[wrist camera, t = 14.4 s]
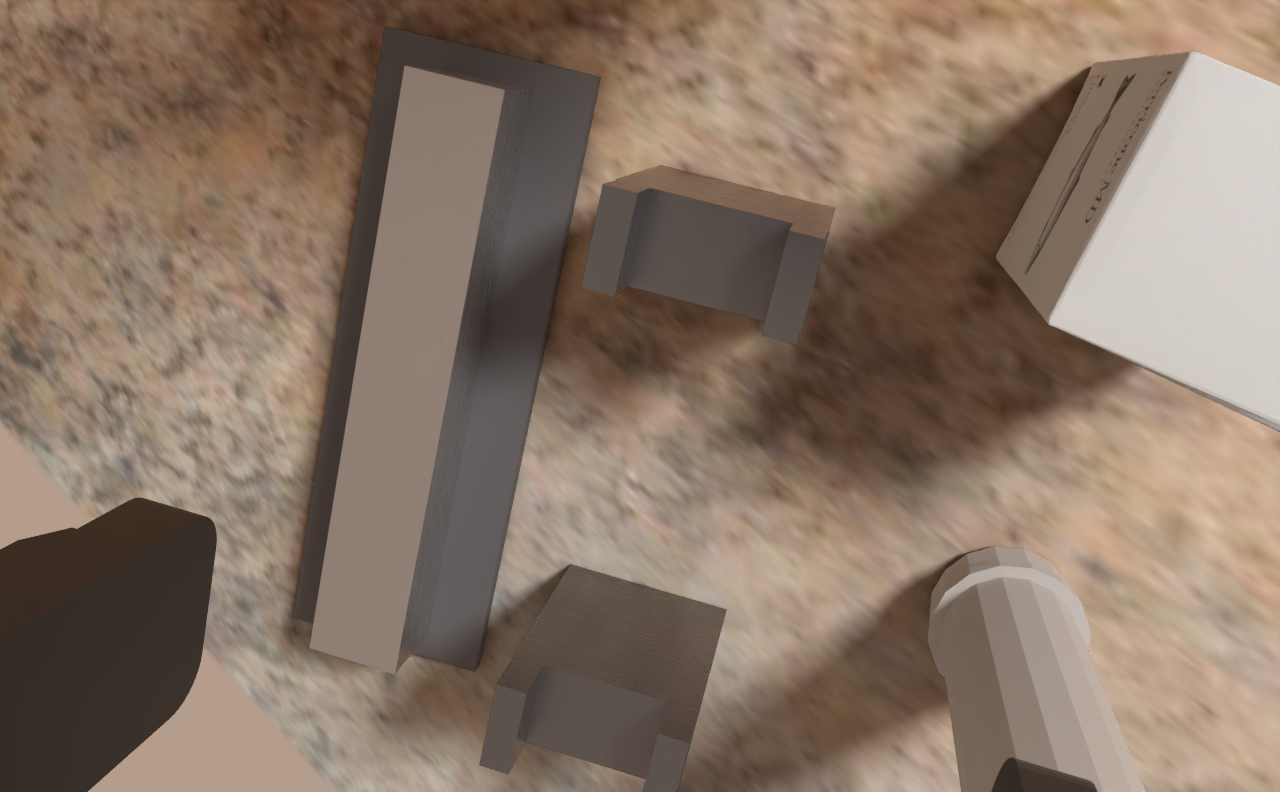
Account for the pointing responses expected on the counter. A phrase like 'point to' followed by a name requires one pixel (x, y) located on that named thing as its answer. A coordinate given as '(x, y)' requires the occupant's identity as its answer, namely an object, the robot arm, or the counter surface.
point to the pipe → (1022, 673)
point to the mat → (509, 337)
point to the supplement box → (1165, 226)
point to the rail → (418, 360)
